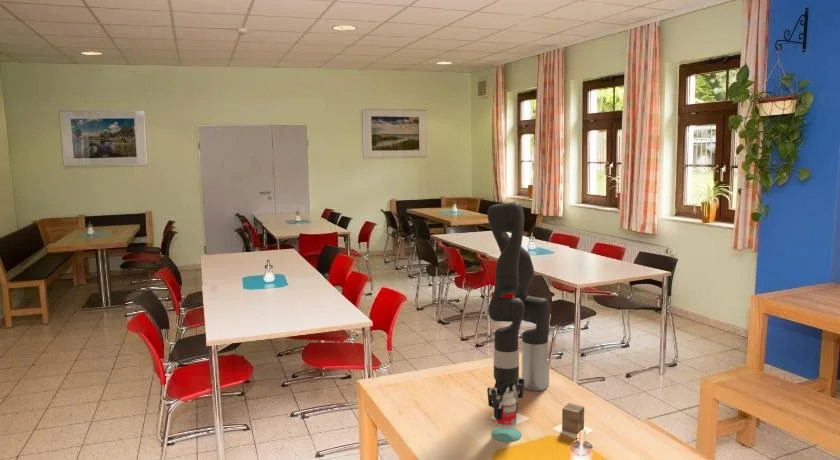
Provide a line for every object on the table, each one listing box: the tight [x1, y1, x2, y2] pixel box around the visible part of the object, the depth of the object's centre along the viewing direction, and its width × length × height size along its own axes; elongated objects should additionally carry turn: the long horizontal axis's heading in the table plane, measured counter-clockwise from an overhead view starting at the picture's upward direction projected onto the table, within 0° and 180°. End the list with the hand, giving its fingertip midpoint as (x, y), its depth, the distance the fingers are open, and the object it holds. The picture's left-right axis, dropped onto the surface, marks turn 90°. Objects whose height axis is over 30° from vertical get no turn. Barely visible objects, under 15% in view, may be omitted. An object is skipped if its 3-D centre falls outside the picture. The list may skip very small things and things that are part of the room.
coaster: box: [491, 427, 522, 443], centre depth 181 cm, size 9×9×1 cm
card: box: [552, 423, 594, 440], centre depth 184 cm, size 9×9×1 cm
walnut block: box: [561, 402, 585, 434], centre depth 183 cm, size 5×5×7 cm
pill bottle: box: [495, 391, 517, 429], centre depth 180 cm, size 6×6×11 cm
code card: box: [489, 412, 530, 426], centre depth 192 cm, size 9×9×1 cm
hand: (506, 415), depth 180 cm, fingers closed on pill bottle, 6 cm apart
